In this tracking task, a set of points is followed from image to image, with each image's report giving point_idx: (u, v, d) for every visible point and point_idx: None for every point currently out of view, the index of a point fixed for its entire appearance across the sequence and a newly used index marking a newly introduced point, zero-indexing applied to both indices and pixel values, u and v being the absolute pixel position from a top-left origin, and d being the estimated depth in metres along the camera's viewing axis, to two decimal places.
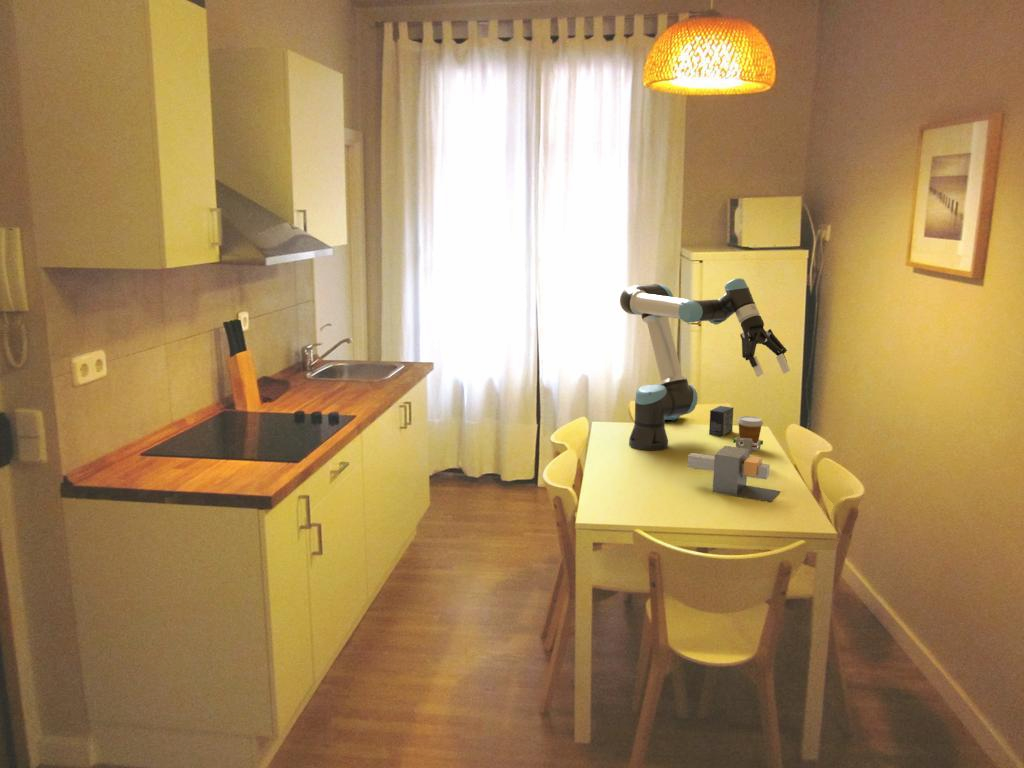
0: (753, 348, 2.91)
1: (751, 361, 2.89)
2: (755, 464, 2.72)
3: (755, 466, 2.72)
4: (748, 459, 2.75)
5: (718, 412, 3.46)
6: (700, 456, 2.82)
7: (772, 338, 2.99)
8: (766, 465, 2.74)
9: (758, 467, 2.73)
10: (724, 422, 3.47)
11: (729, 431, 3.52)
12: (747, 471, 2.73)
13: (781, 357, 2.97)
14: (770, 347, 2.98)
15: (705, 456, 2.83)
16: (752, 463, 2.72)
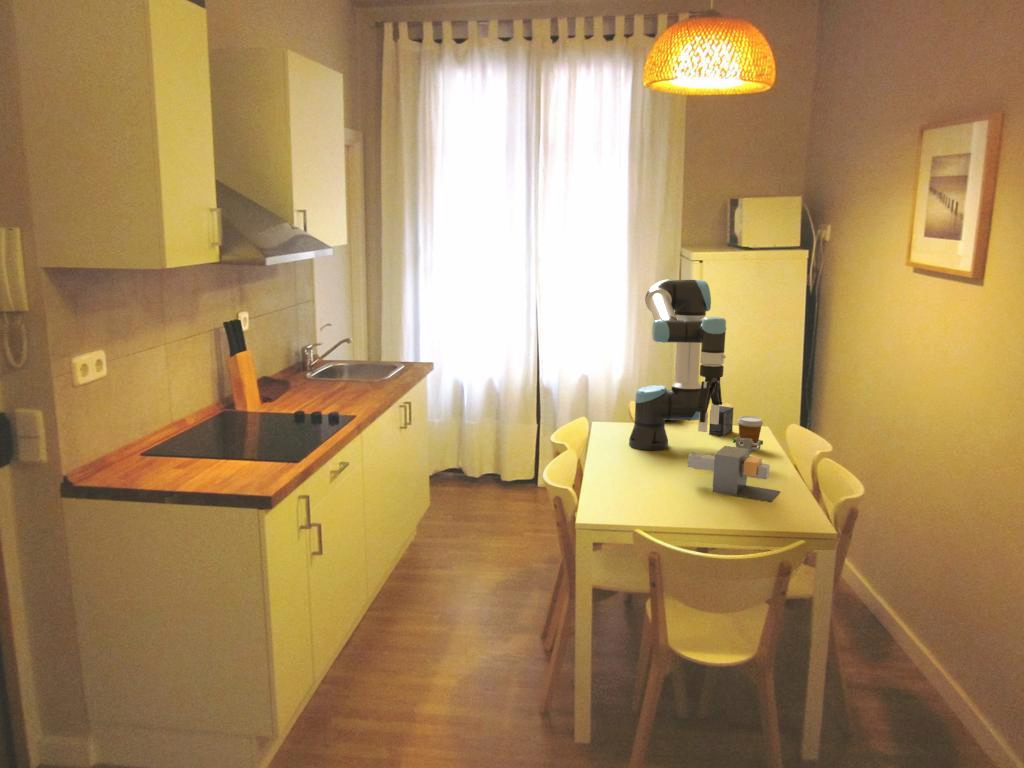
0: (708, 402, 2.75)
1: (702, 416, 2.74)
2: (755, 464, 2.72)
3: (755, 466, 2.72)
4: (748, 459, 2.75)
5: None
6: (700, 456, 2.82)
7: (717, 386, 2.85)
8: (766, 465, 2.74)
9: (758, 467, 2.73)
10: (724, 422, 3.47)
11: (729, 431, 3.52)
12: (747, 471, 2.73)
13: (716, 408, 2.86)
14: (712, 395, 2.84)
15: (705, 456, 2.83)
16: (752, 463, 2.72)
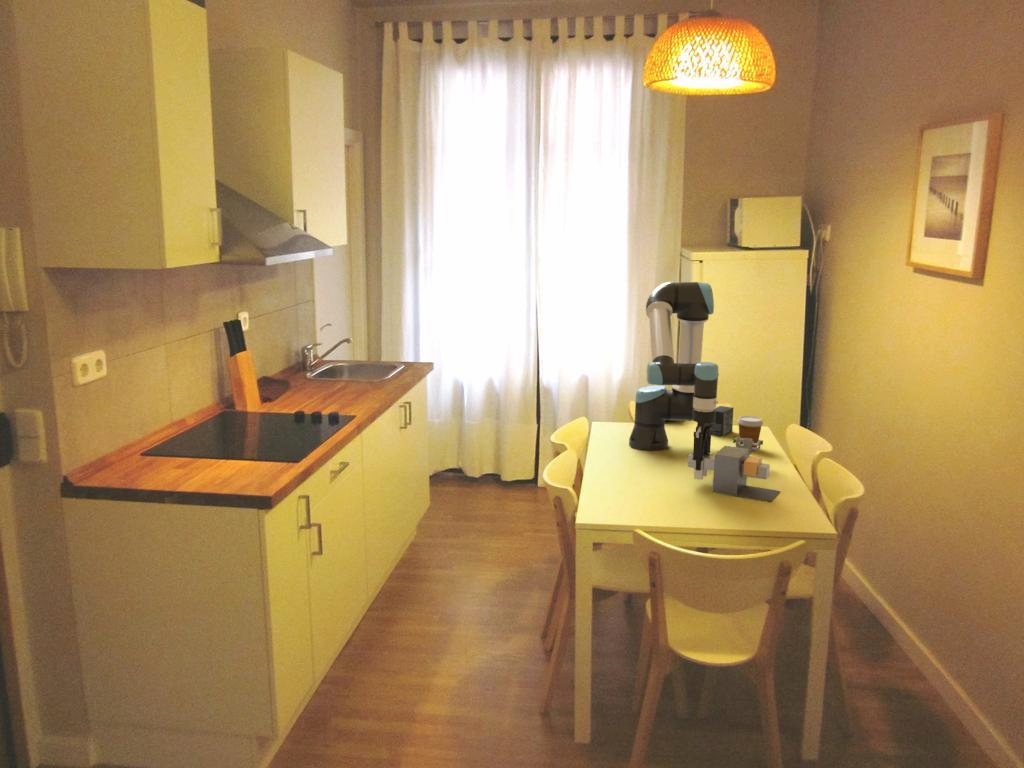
0: (702, 450, 2.80)
1: (698, 465, 2.81)
2: (755, 464, 2.72)
3: (755, 466, 2.72)
4: (748, 459, 2.75)
5: (718, 412, 3.46)
6: None
7: None
8: (766, 465, 2.74)
9: (758, 467, 2.73)
10: (724, 422, 3.47)
11: (729, 431, 3.52)
12: (747, 471, 2.73)
13: None
14: None
15: (705, 456, 2.83)
16: (752, 463, 2.72)
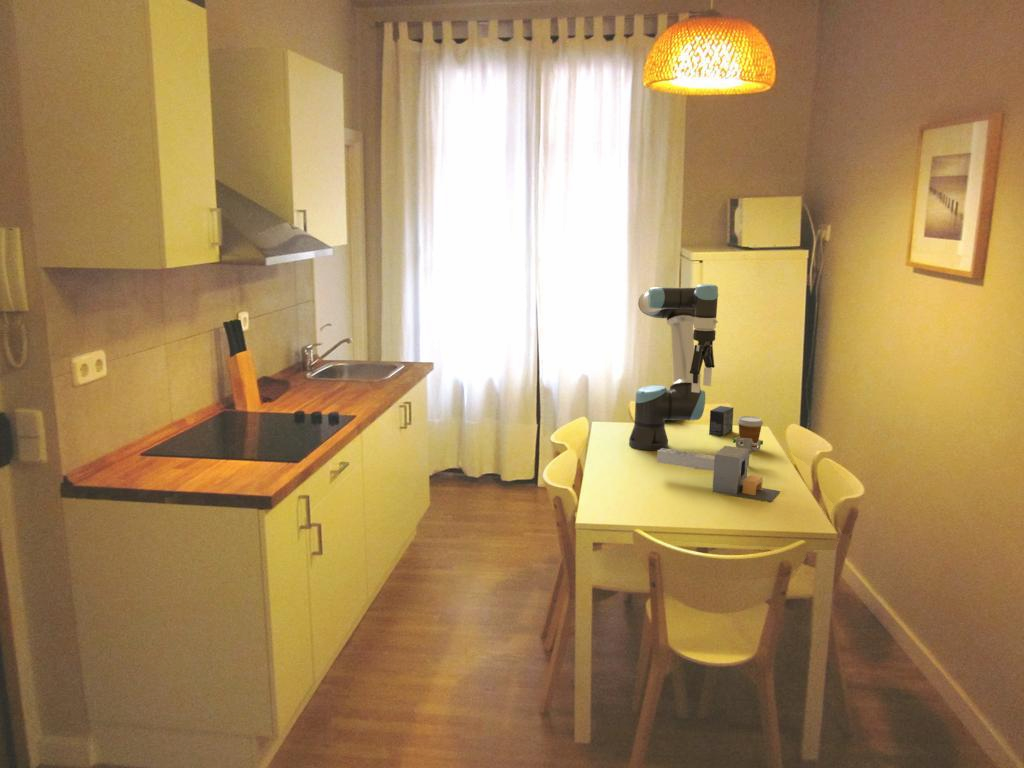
0: (700, 365, 2.92)
1: (695, 378, 2.91)
2: (754, 483, 2.73)
3: (754, 485, 2.74)
4: (748, 478, 2.77)
5: (718, 412, 3.46)
6: (669, 452, 2.87)
7: None
8: None
9: None
10: (724, 422, 3.47)
11: (729, 431, 3.52)
12: (746, 490, 2.75)
13: (709, 371, 3.04)
14: (705, 358, 3.01)
15: (674, 451, 2.88)
16: (751, 482, 2.74)
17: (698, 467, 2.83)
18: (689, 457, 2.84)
